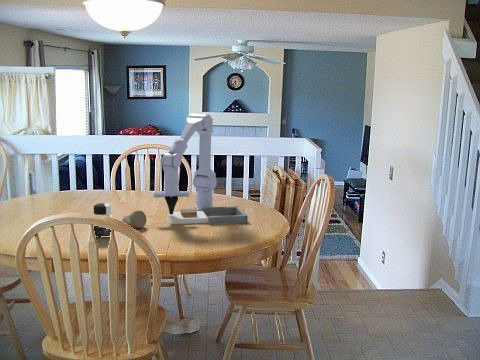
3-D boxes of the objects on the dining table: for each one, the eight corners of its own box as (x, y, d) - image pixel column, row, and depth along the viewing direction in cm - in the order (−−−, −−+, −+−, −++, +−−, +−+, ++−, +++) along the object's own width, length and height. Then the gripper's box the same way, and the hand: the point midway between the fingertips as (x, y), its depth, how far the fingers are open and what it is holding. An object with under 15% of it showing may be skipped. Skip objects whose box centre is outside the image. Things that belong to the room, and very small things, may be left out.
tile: (180, 213, 218) (180, 209, 218) (194, 213, 220) (194, 208, 219) (182, 217, 213) (182, 212, 212) (196, 216, 214) (197, 211, 214)
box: (201, 213, 226) (201, 207, 226) (237, 212, 230) (237, 206, 230) (208, 224, 210) (208, 217, 210) (247, 222, 214) (247, 215, 214)
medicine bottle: (92, 238, 188) (91, 206, 185) (93, 233, 194) (92, 202, 192) (112, 237, 189) (112, 206, 187) (112, 232, 196) (111, 201, 194)
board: (168, 216, 220) (168, 212, 220) (202, 215, 224) (202, 210, 224) (171, 224, 209) (171, 219, 209) (207, 222, 213) (207, 218, 212)
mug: (128, 223, 210) (140, 203, 207) (141, 238, 205) (152, 218, 202) (114, 222, 204) (125, 202, 202) (126, 237, 199) (138, 217, 196)
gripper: (154, 184, 206) (154, 216, 209) (190, 183, 210) (189, 215, 212) (152, 181, 213) (153, 212, 215) (187, 180, 216) (187, 211, 219)
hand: (171, 213), depth 214 cm, fingers closed
